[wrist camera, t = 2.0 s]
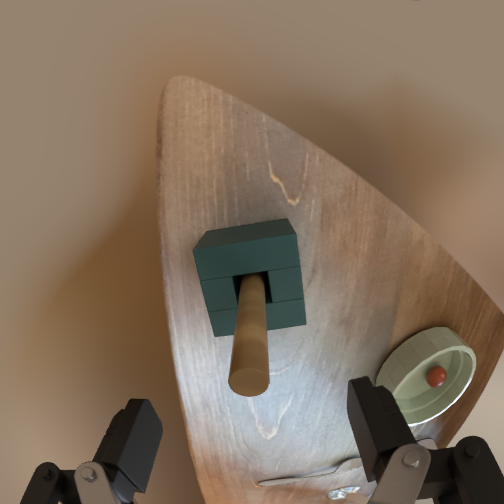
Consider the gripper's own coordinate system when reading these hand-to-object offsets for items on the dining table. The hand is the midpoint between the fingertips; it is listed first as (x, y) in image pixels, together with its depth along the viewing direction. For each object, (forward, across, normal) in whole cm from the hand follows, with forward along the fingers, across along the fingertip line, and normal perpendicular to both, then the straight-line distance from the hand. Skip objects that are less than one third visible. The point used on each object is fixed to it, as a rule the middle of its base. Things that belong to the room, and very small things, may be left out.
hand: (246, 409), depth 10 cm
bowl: (+18, -19, +18) cm, 32 cm away
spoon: (+18, -4, +40) cm, 44 cm away
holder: (+18, 0, 0) cm, 18 cm away
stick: (+18, 0, 0) cm, 18 cm away
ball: (+15, -21, +19) cm, 32 cm away
